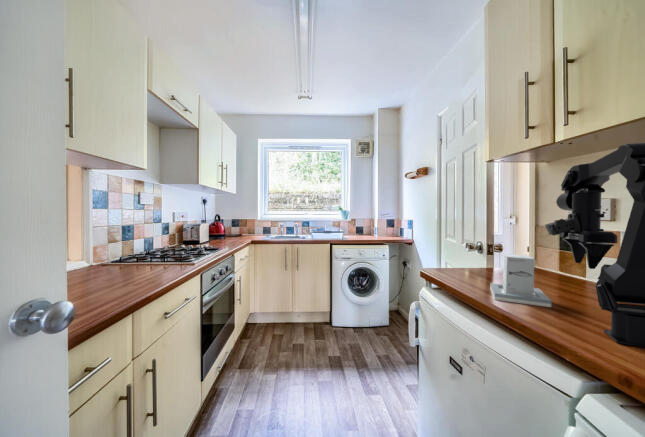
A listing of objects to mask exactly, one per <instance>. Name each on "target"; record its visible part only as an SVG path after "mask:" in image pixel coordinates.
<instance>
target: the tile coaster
mask: <svg viewBox="0 0 645 437" xmlns="http://www.w3.org/2000/svg"><path fill="white" fill-rule="evenodd" d="M489 284H490V285H489V286H490V287H489V289H490V292H491V295H492V297H493V299H494V301H502V302H509V303H514V304H515V303H518V304H522V305H523V304H525V305H531V306H537V307H538V306H539V307H544V308H545V307H546V308H552V299H550V298H549V296H547V295H546V294H545V293H544V292H543V291H542V290H541V289H540V288H538V287H537V288H535V287H534V296H533V297H532V296H524V295H516V294H508V293H505V292H504V290H503V283H502V284H500V283H493V282H491V283H489Z"/></svg>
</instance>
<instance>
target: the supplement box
mask: <svg viewBox="0 0 645 437" xmlns="http://www.w3.org/2000/svg"><path fill="white" fill-rule="evenodd" d="M535 260H536V259H535V258H534V257H532V256H531V255H523V254H521V255H520V254H509V253H504V254H503V270H502V272H503V273H502V274H503V276H502V285H503V290H504V292H505V293H508V294H516V295H524V296H532V297H533V296H534V288H535V282H534V281H535V280H534V279H535Z"/></svg>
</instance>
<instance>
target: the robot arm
mask: <svg viewBox="0 0 645 437" xmlns="http://www.w3.org/2000/svg"><path fill="white" fill-rule="evenodd" d="M617 173H619V174H620V175H621V176H622V177H624V178H625V179H626V185H625V188H626V190H627V191H628V193H629V194H630V196H631V197H632V199H633V204H632V207H631V210H630V212H629V213H630V214H629V217H628V221H627V224H626V228H625V230H624V234H623V238H622V242H621V244H620V248H619V250H618V255H617V259H616V261H615V262H614V263H612V264H607V263H605V264H603V265H602V266H601V267H600V273H599V275H598V277H597V282H596V285H595V290H596V296H597V302H598V305H599V307H600V309H601V310H602V311H606V312H609V313H611V321H610V323H611V324H610V329H606V328H605V329H603V332H604V333H605V335H607V336H608V337H609V338H611V339H612V340H613V341H614V342H616V343H618V344H623V345H629V346H634V347H640V348H645V142H635V143H626V144H622V145H620V146H618V148H617V149H615V150H614V151H612V152H610V153H609V154H608V153H607V155H606V154H605V155H604V156H602V157H600V158H598V159H596V160H594V161H593V162H589V163H582V164H576V165H573V166H571V168H570V169H569V170H568V171H567V172H566V174H565V177H564V179H563V180H562V182H561V184H560V186H561V192H563V193H561V194H560V195H559V196H558V197H557V199H556V202H555V203H556V206H557V207H558V208H560V210H563V211H571V213H569V214H567V218H566V219H564V218H560V219H556V220H555V219H554V221H553V222H549V223H547V224H545V225H544V226H545V229H546V230H547V233H548V235H549V236H550V235H551V236H557V235H559V237H560V238H561V239H562V240H563V241H565V242H566V243H567V244H568V245H569V246H570V250H571V253H572V256H573V259H574V262H575V263H576V264H581V263H582V261H583V259H584V257H585V255H586V260H587V265H588V266H587V267H588V268H589V269H591V270H595V269H596V268H597V267H598V265H600V263H601V261H603V259H604V257H605V256H606V255H607V253H608V252H609V251H610V250H611V248H612V247H614V246H615V244H618V239H619V238H618V235H617V234H616V233H614V232H613V231H607V230H604V228H601V221H602V220H601V219H602V218H605V213H602V193H606V189H605V188H603V187H602V186H603V185H604V184H605V183H607V182H608V181H609V180H611V179H610V176H612V175H615V174H617Z"/></svg>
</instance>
